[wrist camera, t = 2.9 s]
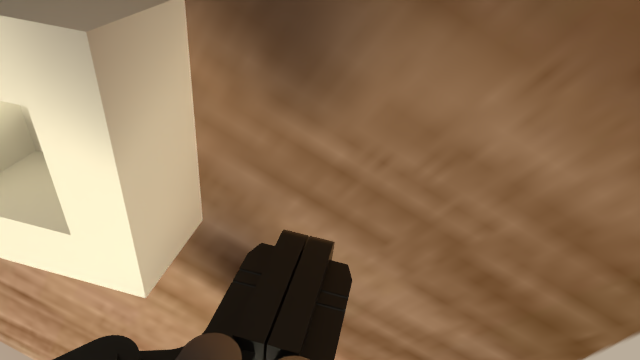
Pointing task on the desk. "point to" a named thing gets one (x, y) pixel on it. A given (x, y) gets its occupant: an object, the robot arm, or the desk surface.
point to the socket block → (97, 139)
